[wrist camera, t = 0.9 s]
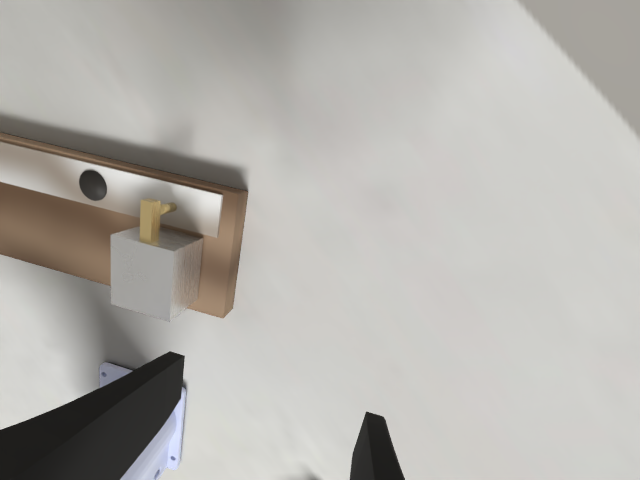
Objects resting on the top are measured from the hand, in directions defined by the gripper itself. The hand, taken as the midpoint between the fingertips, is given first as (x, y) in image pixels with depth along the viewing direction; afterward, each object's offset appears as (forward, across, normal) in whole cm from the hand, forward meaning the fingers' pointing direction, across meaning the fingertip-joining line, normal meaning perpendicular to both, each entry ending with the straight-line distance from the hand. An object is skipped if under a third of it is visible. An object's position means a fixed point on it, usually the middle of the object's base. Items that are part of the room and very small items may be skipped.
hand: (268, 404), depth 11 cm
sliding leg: (+9, +10, -1) cm, 13 cm away
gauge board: (+10, +19, -1) cm, 22 cm away
